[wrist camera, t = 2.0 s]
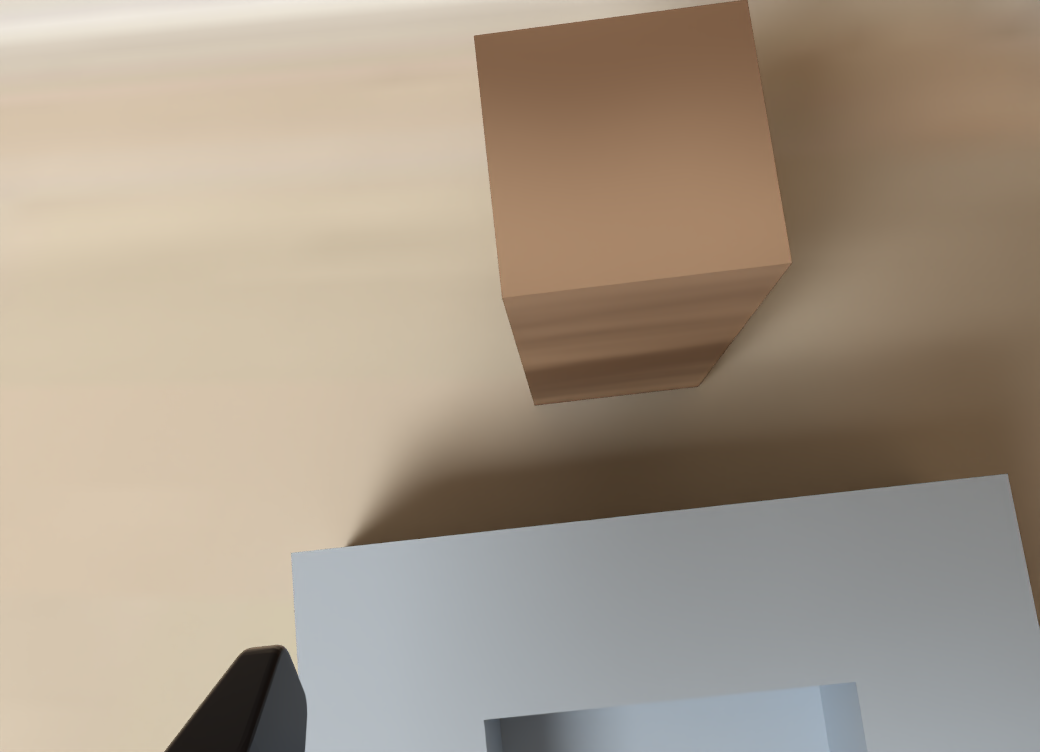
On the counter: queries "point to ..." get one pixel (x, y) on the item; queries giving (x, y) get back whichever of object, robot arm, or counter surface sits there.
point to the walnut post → (630, 196)
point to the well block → (685, 631)
